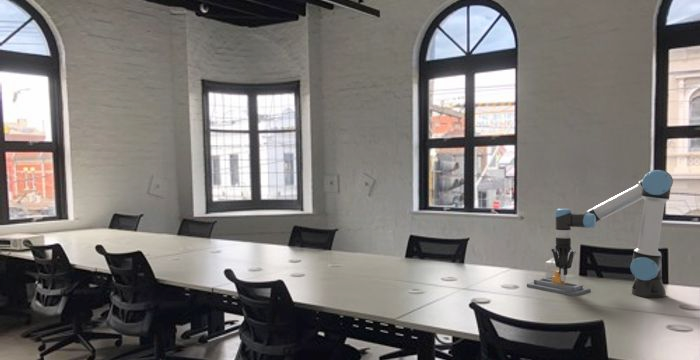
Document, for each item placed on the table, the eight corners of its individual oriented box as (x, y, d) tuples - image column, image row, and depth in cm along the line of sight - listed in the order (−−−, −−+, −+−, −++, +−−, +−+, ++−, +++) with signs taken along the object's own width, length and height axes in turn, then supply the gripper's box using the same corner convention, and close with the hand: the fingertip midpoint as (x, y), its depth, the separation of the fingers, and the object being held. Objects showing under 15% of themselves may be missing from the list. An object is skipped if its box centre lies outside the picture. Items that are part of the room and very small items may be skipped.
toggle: (564, 285, 270) (564, 271, 269) (560, 287, 267) (560, 272, 267) (555, 284, 274) (555, 269, 273) (551, 285, 271) (551, 270, 271)
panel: (590, 291, 264) (590, 284, 264) (574, 296, 254) (574, 289, 254) (543, 282, 286) (543, 276, 286) (526, 286, 277) (526, 280, 277)
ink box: (560, 283, 282) (560, 260, 282) (545, 282, 287) (544, 259, 287) (564, 281, 289) (564, 258, 289) (549, 279, 294) (549, 256, 294)
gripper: (578, 237, 264) (578, 281, 265) (555, 235, 275) (556, 277, 275) (570, 239, 260) (571, 283, 260) (548, 236, 270) (548, 279, 271)
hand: (563, 280), depth 268 cm, fingers closed
